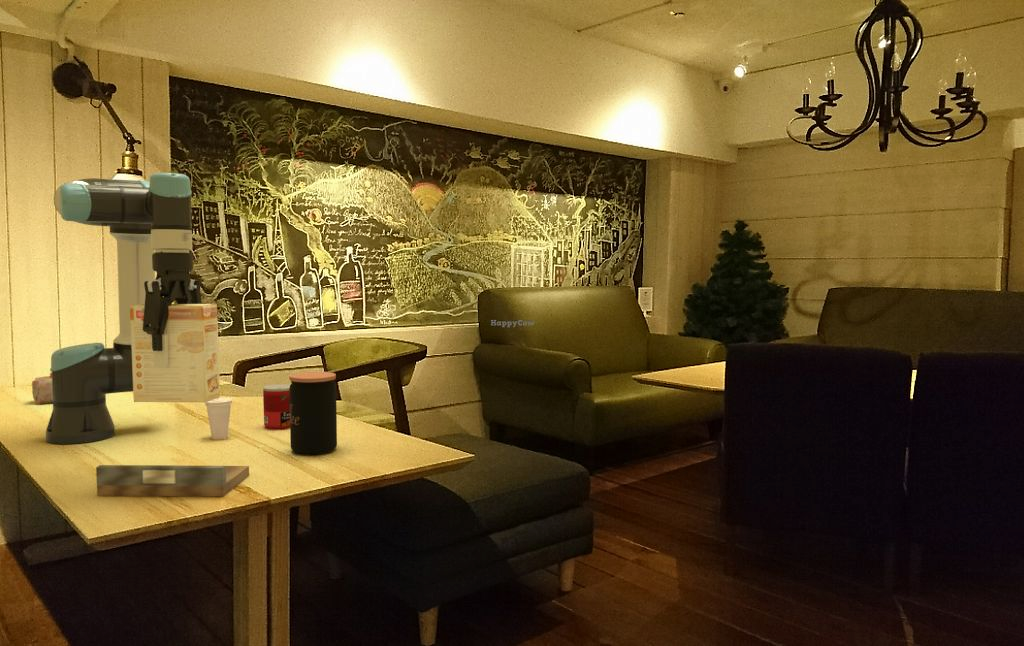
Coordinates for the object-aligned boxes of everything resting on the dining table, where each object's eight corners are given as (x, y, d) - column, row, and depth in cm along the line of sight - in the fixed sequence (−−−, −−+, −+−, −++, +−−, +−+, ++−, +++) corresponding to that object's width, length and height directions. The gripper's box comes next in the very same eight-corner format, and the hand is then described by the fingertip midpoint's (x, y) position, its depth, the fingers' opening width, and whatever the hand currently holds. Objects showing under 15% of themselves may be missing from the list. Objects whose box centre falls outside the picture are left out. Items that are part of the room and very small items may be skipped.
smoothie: (226, 433, 195) (225, 380, 193) (237, 438, 190) (236, 383, 189) (201, 437, 190) (200, 382, 189) (212, 442, 185) (210, 386, 184)
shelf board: (96, 496, 143) (94, 467, 142) (134, 474, 157) (133, 448, 157) (222, 496, 143) (221, 468, 142) (249, 475, 157) (248, 449, 157)
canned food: (285, 430, 198) (285, 389, 198) (258, 429, 200) (257, 388, 199) (299, 424, 206) (299, 384, 205) (273, 423, 207) (272, 383, 207)
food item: (33, 406, 231) (31, 374, 230) (32, 402, 237) (31, 371, 236) (84, 401, 238) (83, 370, 237) (82, 397, 245) (80, 367, 244)
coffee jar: (295, 445, 183) (294, 371, 181) (340, 444, 184) (339, 371, 182) (286, 456, 172) (284, 378, 171) (333, 455, 173) (332, 378, 172)
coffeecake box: (221, 397, 157) (218, 303, 155) (205, 403, 149) (202, 305, 148) (151, 396, 157) (147, 303, 156) (132, 402, 150) (128, 305, 149)
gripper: (151, 250, 140) (155, 372, 142) (221, 252, 160) (224, 358, 162) (117, 250, 142) (122, 370, 144) (191, 252, 162) (194, 357, 164)
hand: (176, 364), depth 153 cm, fingers closed on coffeecake box, 8 cm apart
